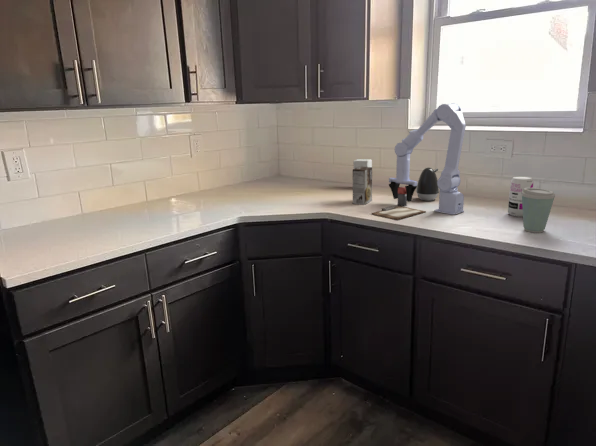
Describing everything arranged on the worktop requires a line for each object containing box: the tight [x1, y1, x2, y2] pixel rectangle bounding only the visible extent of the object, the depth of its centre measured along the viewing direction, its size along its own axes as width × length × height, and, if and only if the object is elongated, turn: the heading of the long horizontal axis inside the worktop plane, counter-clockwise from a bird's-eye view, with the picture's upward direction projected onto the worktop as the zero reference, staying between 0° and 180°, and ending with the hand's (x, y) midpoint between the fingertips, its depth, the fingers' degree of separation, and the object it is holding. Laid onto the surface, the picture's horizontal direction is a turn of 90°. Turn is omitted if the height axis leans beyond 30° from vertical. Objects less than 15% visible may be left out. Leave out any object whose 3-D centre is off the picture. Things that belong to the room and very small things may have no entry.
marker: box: [397, 186, 408, 207], centre depth 210 cm, size 4×4×8 cm
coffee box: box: [352, 166, 373, 206], centre depth 218 cm, size 9×6×16 cm
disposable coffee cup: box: [521, 187, 556, 234], centre depth 165 cm, size 11×11×15 cm
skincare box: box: [352, 158, 373, 169], centre depth 249 cm, size 8×7×16 cm
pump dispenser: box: [415, 167, 440, 202], centre depth 219 cm, size 10×10×15 cm
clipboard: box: [371, 205, 427, 221], centre depth 197 cm, size 14×18×2 cm
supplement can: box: [507, 175, 534, 218], centre depth 187 cm, size 8×8×15 cm
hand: (402, 199), depth 211 cm, fingers open, 7 cm apart
